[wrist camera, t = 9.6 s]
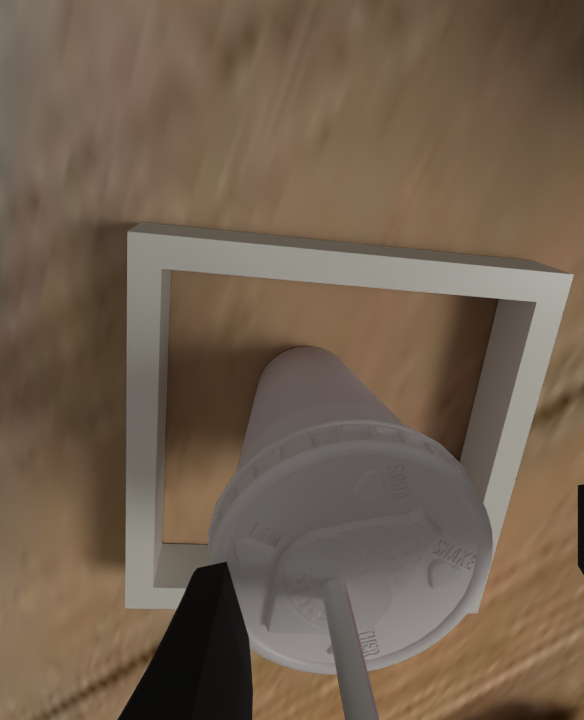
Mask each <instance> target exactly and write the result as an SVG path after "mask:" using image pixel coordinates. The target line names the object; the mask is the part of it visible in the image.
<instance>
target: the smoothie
mask: <svg viewBox="0 0 584 720" xmlns="http://www.w3.org/2000/svg"><path fill="white" fill-rule="evenodd" d="M208 547H209V565H214V564H218V563H223V562H227V565H228V568H229V571H230V575H231V578H232V582H233V585H234V588H235V592H236V595H237V599H238V602H239V605H240V609H241V612H242V616H243V619H244V622H245V626H246V629H247V633H248V636H249V644H250V649H251V650H253V651H254V652H256V653H257V654H259V655H260V656H262V657H264V658H266V659H268V660H270V661H272V662H275V663H277V664H279V665H282V666H285V667H289V668H292V669H296V670H300V671H303V672H310V673H319V674H329V675H333V674H337V677H338V682H339V688H340V693H341V699H342V704H343V710H344V715H345V720H379V716H378V711H377V707H376V703H375V699H374V695H373V691H372V687H371V683H370V679H369V675H368V671H371V670H377V669H381V668H384V667H387V666H390V665H393V664H396V663H399V662H401V661H404V660H406V659H408V658H410V657H412V656H414V655H416V654H418V653H420V652H422V651H424V650H426V649H427V648H429V647H430V646H432V645H433V644H434V643H436V642H437V641H439V640H440V639H441V638H443V637H444V636H445V635H447V634H448V633H449V632H450V631H451V630H452V629H453V628H454V627H455V626H456V625H457V624H458V623H459V622H460V621H461V620H462V619H463V618H464V617H465V615H466V614H467V613H468V611H469V610H470V609H471V607H472V606H473V604H474V603H475V601H476V600H477V598H478V596H479V595H480V593H481V591H482V589H483V587H484V584H485V582H486V579H487V576H488V573H489V569H490V566H491V560H492V554H493V537H492V528H491V524H490V519H489V516H488V513H487V510H486V508H485V506H484V504H483V502H482V500H481V498H480V496H479V495H478V493H477V492H476V490H475V488H474V486H473V484H472V482H471V480H470V478H469V477H468V475H467V473H466V471H465V469H464V467H463V465H462V464H461V463H459V462H458V461H457V460H456V459H455V458H454V457H453V456H452V455H451V454H450V453H449V452H448V451H447V450H446V449H445V448H444V447H443V446H442V445H441V444H440V443H439V442H437V441H435V440H433V439H431V438H429V437H427V436H425V435H423V434H422V433H420V432H418V431H416V430H414V429H412V428H410V427H407V426H405V425H404V424H403V423H402V422H401V421H400V420H399V419H398V418H397V417H396V416H395V415H394V414H393V413H392V412H391V411H390V410H389V409H388V408H387V407H386V406H385V405H384V404H383V403H382V402H381V401H380V400H379V399H378V398H377V397H376V396H375V395H374V394H373V393H372V391H371V390H370V389H369V388H368V387H367V386H366V385H365V384H364V383H363V382H362V381H361V380H360V379H359V378H358V377H357V376H356V375H355V374H354V373H353V372H352V371H351V370H350V369H349V368H348V367H347V366H346V365H345V364H344V363H343V362H342V361H341V360H340V359H339V358H338V357H337V356H335V355H334V354H332V353H331V352H329V351H327V350H324V349H321V348H316V347H298V348H293V349H290V350H288V351H285V352H283V353H281V354H280V355H278V356H277V357H275V358H274V359H273V360H272V361H271V362H270V363H269V364H268V365H267V366H266V368H265V369H264V371H263V373H262V374H261V377H260V379H259V383H258V387H257V391H256V395H255V399H254V403H253V407H252V411H251V415H250V419H249V423H248V427H247V431H246V435H245V439H244V443H243V447H242V451H241V455H240V459H239V463H238V468H237V471H236V473H235V474H234V476H233V477H232V479H231V481H230V482H229V484H228V485H227V487H226V489H225V490H224V492H223V493H222V495H221V496H220V498H219V500H218V501H217V503H216V506H215V510H214V514H213V517H212V521H211V525H210V528H209V532H208ZM209 565H208V566H209Z"/></svg>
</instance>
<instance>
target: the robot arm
mask: <svg viewBox="0 0 584 720" xmlns="http://www.w3.org/2000/svg"><path fill="white" fill-rule="evenodd" d="M578 566H579V568H580V570H581V571H582V573H583V574H584V484H583V485H578ZM252 701H253V687H252V672H251V658H250V644H249V636H248V633H247V629H246V626H245V622H244V619H243V616H242V612H241V609H240V605H239V602H238V599H237V595H236V592H235V588H234V585H233V582H232V578H231V575H230V571H229V568H228V565H227V562H223V563H218V564H214V565H209V566H204V567H200V568H196V570H195V571H194V573H193V574H192V576H191V579H190V581H189V583H188V586H187V588H186V590H185V592H184V595H183V597H182V599H181V601H180V604H179V606H178V608H177V610H176V612H175V614H174V616H173V618H172V621H171V623H170V625H169V627H168V629H167V631H166V633H165V635H164V637H163V639H162V641H161V643H160V645H159V646H158V648H157V650H156V652H155V654H154V656H153V658H152V660H151V662H150V664H149V666H148V668H147V670H146V671H145V673H144V675H143V677H142V678H141V680H140V682H139V684H138V685H137V687H136V689H135V691H134V692H133V694H132V696H131V698H130V699H129V701H128V703H127V705H126V706H125V708H124V710H123V711H122V713H121V715H120V716H119V718H118V720H252Z"/></svg>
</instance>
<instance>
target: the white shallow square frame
mask: <svg viewBox="0 0 584 720" xmlns="http://www.w3.org/2000/svg"><path fill="white" fill-rule="evenodd" d="M171 270H181V271H193V272H204V273H215V274H226V275H238V276H249V277H260V278H271V279H283V280H294V281H305V282H316V283H328V284H339V285H350V286H361V287H372V288H384V289H395V290H406V291H417V292H429V293H440V294H451V295H462V296H474V297H485V298H496V299H499V301H498V305H497V309H496V313H495V317H494V321H493V325H492V330H491V334H490V338H489V342H488V346H487V350H486V355H485V359H484V363H483V367H482V371H481V375H480V379H479V384H478V388H477V392H476V396H475V400H474V404H473V408H472V413H471V417H470V421H469V425H468V429H467V433H466V437H465V442H464V446H463V450H462V454H461V458H460V462H459V463H461V464H462V465H463V467H464V469H465V471H466V473H467V475H468V477H469V478H470V480H471V482H472V484H473V486H474V488H475V490H476V492H477V493H478V495H479V496H480V498H481V500H482V502H483V504H484V506H485V508H486V510H487V513H488V516H489V519H490V524H491V528H492V537H493V554H492V560H491V564H492V561H493V557H494V554H495V550H496V547H497V543H498V539H499V536H500V532H501V529H502V525H503V522H504V518H505V515H506V511H507V508H508V504H509V501H510V497H511V494H512V490H513V487H514V483H515V480H516V476H517V473H518V469H519V466H520V462H521V459H522V455H523V452H524V448H525V445H526V441H527V438H528V434H529V430H530V427H531V423H532V420H533V416H534V413H535V409H536V406H537V402H538V399H539V395H540V392H541V388H542V385H543V381H544V378H545V374H546V371H547V367H548V364H549V360H550V357H551V353H552V350H553V346H554V343H555V339H556V336H557V332H558V329H559V325H560V322H561V318H562V314H563V311H564V307H565V304H566V300H567V297H568V293H569V290H570V286H571V283H572V279H573V276H574V274H571V273H568V272H565V271H562V270H559V269H556V268H553V267H550V266H548V265H545V264H542V263H539V262H536V261H529V260H519V259H509V258H499V257H488V256H478V255H468V254H458V253H448V252H438V251H428V250H418V249H407V248H397V247H387V246H377V245H367V244H357V243H347V242H336V241H326V240H316V239H306V238H296V237H286V236H276V235H266V234H255V233H245V232H235V231H225V230H215V229H205V228H195V227H184V226H174V225H164V224H154V223H144V222H142V223H140V224H138V225H137V226H135V227H134V228H132V229H131V230H129V231H127V390H126V572H125V608H139V609H177V608H178V606H179V604H180V601H181V599H182V597H183V595H184V592H185V590H186V588H187V586H188V583H189V581H190V579H191V576H192V574H193V573H194V571H195V570H196V568H200V567H204V566H208V565H209V547H208V545H197V544H162V528H163V497H164V467H165V436H166V406H167V375H168V345H169V314H170V283H171ZM490 568H491V566H490ZM489 571H490V569H489ZM488 575H489V573H488ZM487 578H488V576H487ZM486 582H487V579H486ZM486 582H485V584H484V587H483V589H482V591H481V593H480V595H479V596H478V598H477V600H476V601H475V603H474V604H473V606H472V607H471V609H470V610H469V611H468V613H475V614H477V613H478V610H479V606H480V603H481V599H482V596H483V592H484V589H485V585H486Z"/></svg>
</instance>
